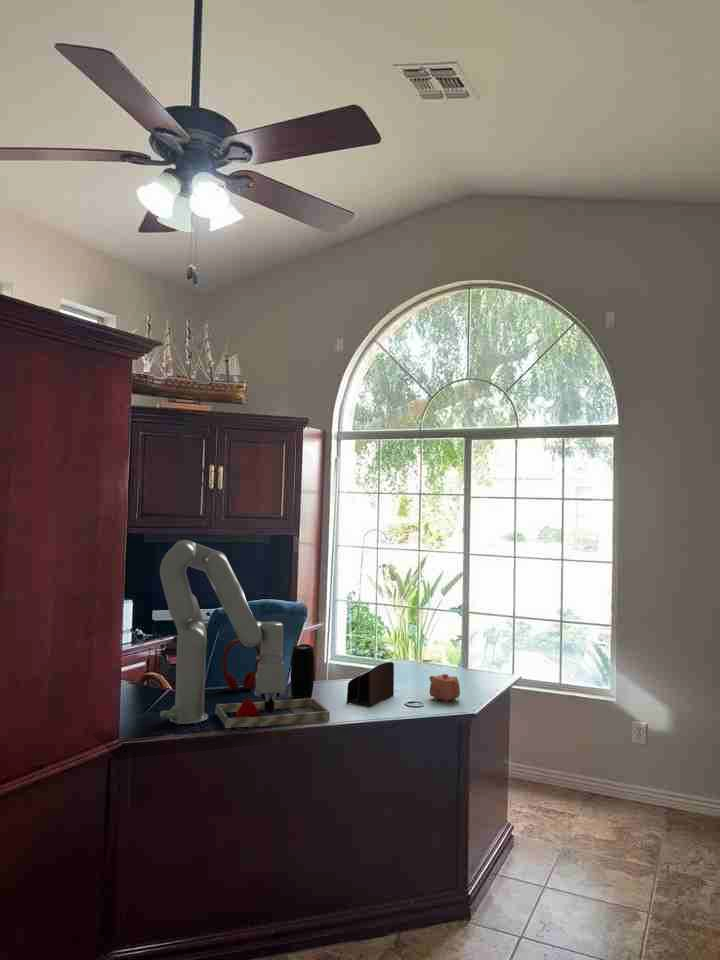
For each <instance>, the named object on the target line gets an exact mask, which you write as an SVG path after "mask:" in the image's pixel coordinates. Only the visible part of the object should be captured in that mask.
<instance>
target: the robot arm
mask: <svg viewBox="0 0 720 960" xmlns="http://www.w3.org/2000/svg"><path fill="white" fill-rule="evenodd" d="M188 567H190V568H193V569H196V570H199V571H202V572H204V573H205V574H206V575H205V576H206V577H207V579H208V580H209V583H210V584H211V587H212V589H213V591H214V592H215V595H216V596H217V598H218V601H219V603H220V604H221V606H222V608H223V610H224V611H225V613H226V615H227V617H228V619H229V622H230V623H231V625H232V627H233V629H234V631H235V633H236V635H237V638H238V639H240V641H239V642H240V643H242V645H244V647H248V648H253V647H255V646H256V645H257V646H258V645H259V644H260V655H258V656H257V655H256V656H255V658H256V661H257V660H260V662H258V666H257V671H256V678H255V686H254V692H253V693H254V696H255V697H260V698H261V699H263V700H264V702H265V707H264V709H265V710H266V711H265V712H266V713H267V714H273V711H275V710H274V701H277V699H278V697H280V696H283V695H285V694H286V689H287V673H286V672H287V671H286V664H285V662H284V661H283V651H284V650H283V648H284V624H283V623H282V622H279V621H258V620H256V618H255V616H254V615H253V612H252V611H251V609H250V605H249V603H248V602H247V601H248V600H247V599H246V595H245V592H244V590H243V588H242V586H241V584H240V582H239V580H238V578H237V576H236V574H235V571H234V570H233V569H232V566H231V564H230V562H229V560H228V558H227V556H226V555H225V553H224V552H222V551H219V550H217V549H213V548H211V547H208V546H205V545H203V544H200V543H196V542H195V541H191V540H190V539H189V540H188V539H182V540H179V541H177V542H176V543H175V544H173V545H172V547H171V548H170V549H168V551H167V552H166V553H165V555H164V557H163V558H162V560H161V563H160V567H159V576H160V580H161V585H162V589H163V592H164V596H165V600H166V604H167V606H168V607H167V608H168V613H169V615H170V617H171V619H173V622H174V625H175V628H176V632H177V639H176V665H175V666H176V667H175V669H176V670H175V675H176V676H175V699H174V705H172V706H171V707H172V708H170V709H169V710H160V713H159V715H160V717H161V718H166V717H167V719H168V718H169V721H170V723H172V722H174V723H177V724H176V725H179V724H189V723H197V722H202V721H205V720H207V719H208V720H209V715H208V713H205V691H206V690H205V687H206V686H205V685H206V658H207V643H208V642H207V641H208V640H207V638H208V637H207V635H208V633H207V628H206V626H205V625H206V624H205V622H204V617H203V614H202V611H201V609H200V605H199V602H198V599H197V597H196V596H195V594H193V593H192V589H191V586H190V582H189V579H188V578H189V577H188V575H187V569H188ZM269 694H270V697H269ZM208 720H207V721H208ZM174 723H173V724H174Z"/></svg>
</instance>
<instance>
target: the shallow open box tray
mask: <svg viewBox="0 0 720 960" xmlns="http://www.w3.org/2000/svg"><path fill="white" fill-rule="evenodd" d="M252 702H253V701H252ZM253 703H254V705H255V707H256V708H257V710H265V709H264V707H265V701H256V702H253ZM241 704H242V702H241V703H238V702H234V703H232V702H231V703H216V704H215V715H216V714H217V715H218V717H219V718H220V720H221V721H222V723H223V724H224V726H225V728H231V727H248V728H257V726H259V727H268V726H279V725H280V726H282V725H292V724H303V723H304V722H305V723H314V721H317V722H327V720H329V721H330V715H331V714H330V710H329V709H327V708H326V707H325V706H324V705H323V704H321V702H320V701H318V700H317V699H316V698H315V697H312V698H304V699H284V700H283V699H282V700H280V699H279V700H275V701H274V709H282V710H286V709H285V708H288V709H287V710H288V711H290V713H289V714H287V713H286V714H274V715H263V716H260V717H240V718H234V717H231V718H229V717H228V714H225V712H226V713H227V712H237V711H238V710H239V708H240V706H241ZM217 715H216V716H217ZM218 717H217V718H218ZM220 720H219V721H220ZM325 720H326V721H325ZM222 723H221V724H222ZM305 723H304V724H305ZM224 726H223V727H224ZM255 726H256V727H255ZM225 728H224V729H225Z"/></svg>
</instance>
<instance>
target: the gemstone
mask: <svg viewBox="0 0 720 960" xmlns="http://www.w3.org/2000/svg"><path fill="white" fill-rule="evenodd" d="M241 703H242V704H241V706H240V708H239V710H238V711H237V713H235V715H234V717H233V718H240V717H261V716H260V711H258V710H257V708H256V707H255V705H254V703H253V701H252V700H250V699H249V698H248V697H246V698H244V699H243V700H242V702H241Z"/></svg>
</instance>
